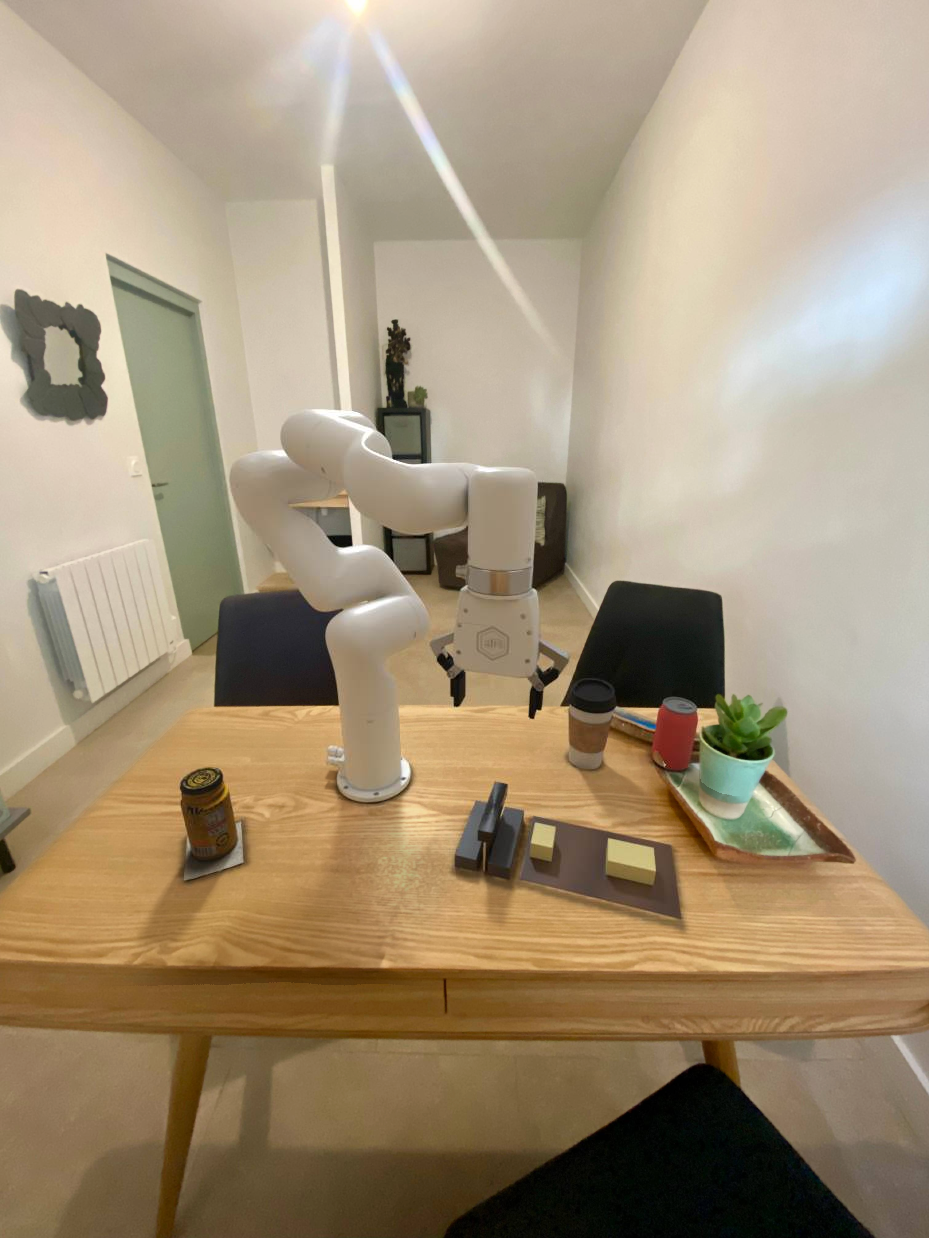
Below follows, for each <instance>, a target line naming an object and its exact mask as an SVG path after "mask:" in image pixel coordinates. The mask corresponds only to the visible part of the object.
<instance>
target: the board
mask: <svg viewBox="0 0 929 1238" xmlns="http://www.w3.org/2000/svg"><path fill="white" fill-rule="evenodd" d="M535 822H536V823H540V824H545V825H549V826H554V827H556V831H555V841H554V848H553V854H552V861H551V862H550V861H546V860H542V859H538V858H533V857H530V847H531V839H532V835H533V830H534V825H535ZM608 838H610V839H615V840H619V841H624V842H628V843H633V844H638V845H642V846H647V847H652V848H654V856H655V867H656V874H655V879H654V884H653V885H649V884H644V883H640V882H636V881H632V880H627V879H623V878H619V877H615V876H610V875H606V849H607V842H608ZM520 869H521V870H520V873H519V880H520V881H525V882H527V883H528V882H529V883H532V884H536V885H541V886H545V887H549V888H554V889H556V890H561V891H565V892H570V893H573V894H577V895H581V896H585V897H589V898H594V899H597V900H602V901H605V902H609V903H613V904H618V905H622V906H625V907H629V908H634V909H638V910H641V911H646V912H649V913H654V914H657V915H662V916H665V917H666V916H667V917H670V918H675V919H678V920H682V912H681V904H680V897H679V891H678V883H677V877H676V870H675V862H674V855H673V848H672V844H669V843H663V842H659V841H655V840H649V839H646V838H641V837H635V836H631V835H626V834H623V833H622V834H621V833H616V832H612V831H607V830H604V829H603V830H602V829H599V828H598V829H597V828H593V827H589V826H584V825H578V824H573V823H570V822H566V821H560V820H556V819H550V818H546V817H541V816H536V815H533V816H532V818H531V822H530V829H529V832H528V837H527V841H526V847H525V851H524V855H523V860H522V864H521V868H520Z"/></svg>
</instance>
